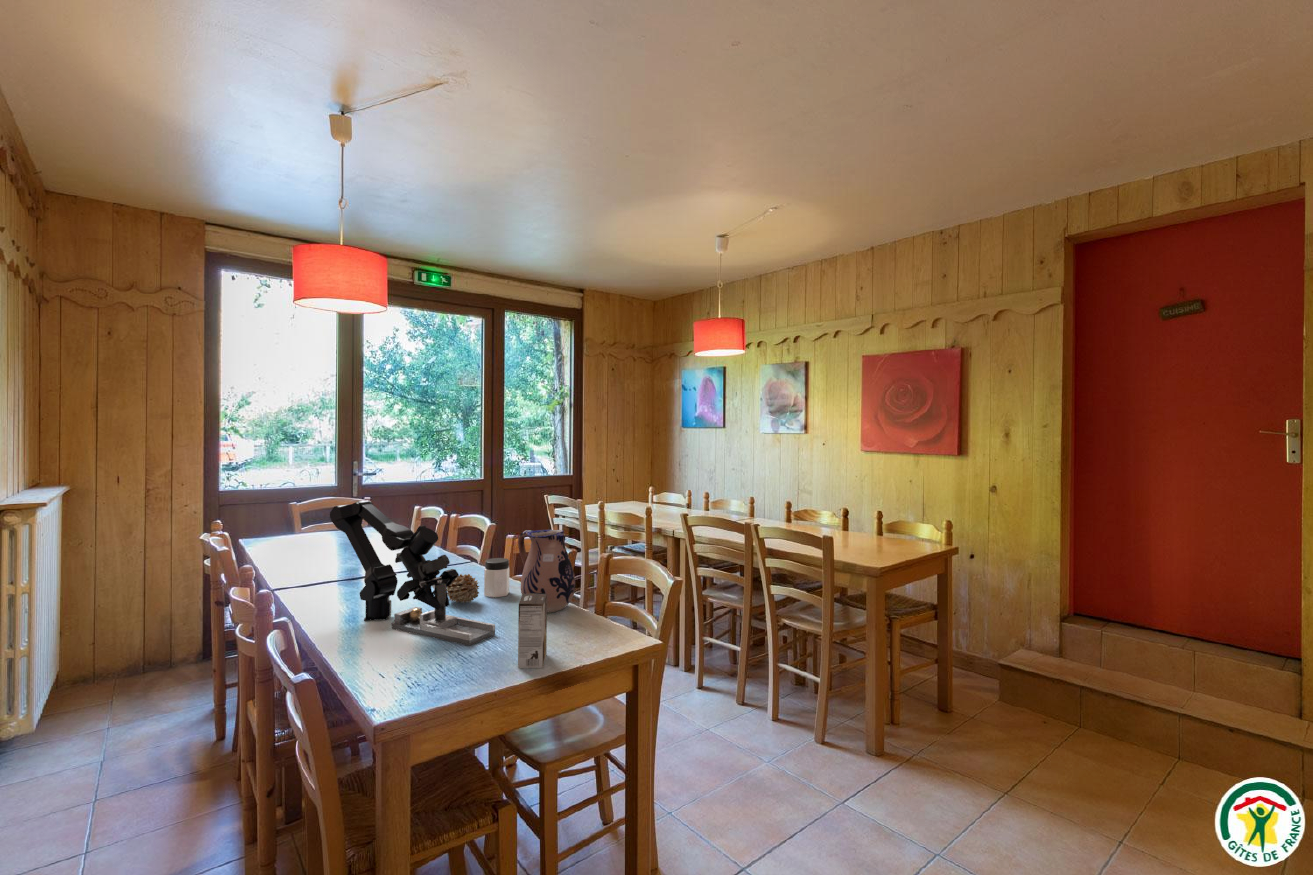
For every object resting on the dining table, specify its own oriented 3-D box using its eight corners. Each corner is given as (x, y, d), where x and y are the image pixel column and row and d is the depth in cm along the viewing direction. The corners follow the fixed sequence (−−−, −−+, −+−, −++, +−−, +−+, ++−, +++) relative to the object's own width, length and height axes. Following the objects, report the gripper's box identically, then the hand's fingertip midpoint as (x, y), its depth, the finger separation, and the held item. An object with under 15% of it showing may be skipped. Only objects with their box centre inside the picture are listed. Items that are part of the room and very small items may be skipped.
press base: (391, 628, 177) (391, 610, 177) (418, 618, 186) (418, 602, 186) (469, 646, 164) (469, 627, 164) (495, 634, 173) (495, 617, 173)
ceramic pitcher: (558, 620, 187) (559, 538, 187) (499, 612, 194) (500, 533, 194) (584, 604, 203) (585, 529, 203) (529, 597, 211) (530, 525, 210)
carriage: (419, 626, 174) (420, 584, 174) (438, 619, 180) (438, 579, 180) (438, 630, 171) (438, 588, 171) (456, 623, 177) (457, 582, 177)
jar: (488, 598, 209) (488, 563, 209) (480, 593, 216) (480, 559, 215) (513, 595, 214) (513, 561, 214) (505, 589, 221) (505, 556, 220)
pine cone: (487, 604, 202) (487, 574, 202) (461, 610, 195) (461, 579, 195) (452, 592, 217) (452, 564, 217) (426, 597, 209) (426, 568, 209)
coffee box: (521, 654, 158) (522, 593, 158) (547, 654, 159) (547, 592, 158) (516, 668, 149) (517, 603, 149) (543, 668, 150) (544, 602, 149)
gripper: (404, 553, 169) (433, 598, 164) (454, 542, 185) (482, 582, 180) (384, 577, 172) (412, 622, 167) (435, 565, 189) (461, 605, 184)
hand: (443, 607), depth 175 cm, fingers closed on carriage, 3 cm apart
